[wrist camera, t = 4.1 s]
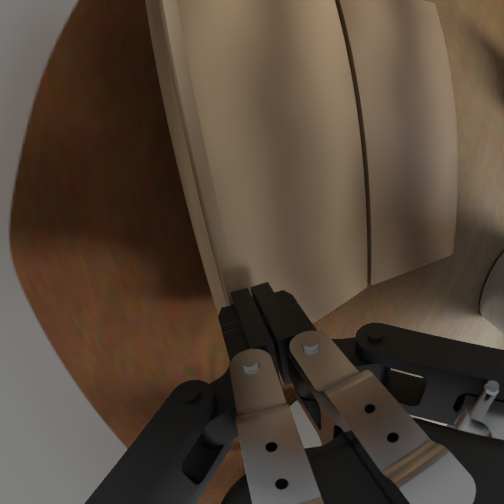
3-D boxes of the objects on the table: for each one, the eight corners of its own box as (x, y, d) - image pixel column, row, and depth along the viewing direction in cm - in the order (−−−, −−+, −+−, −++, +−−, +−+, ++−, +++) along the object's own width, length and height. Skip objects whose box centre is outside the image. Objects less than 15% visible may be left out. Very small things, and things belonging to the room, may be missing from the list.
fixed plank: (418, 8, 13) (435, 3, 11) (437, 245, 21) (452, 254, 19) (320, -7, 12) (334, -18, 10) (357, 273, 20) (371, 285, 18)
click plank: (306, -9, 12) (332, -20, 10) (346, 277, 19) (370, 288, 18) (142, -16, 8) (156, -41, 6) (227, 345, 16) (247, 367, 14)
